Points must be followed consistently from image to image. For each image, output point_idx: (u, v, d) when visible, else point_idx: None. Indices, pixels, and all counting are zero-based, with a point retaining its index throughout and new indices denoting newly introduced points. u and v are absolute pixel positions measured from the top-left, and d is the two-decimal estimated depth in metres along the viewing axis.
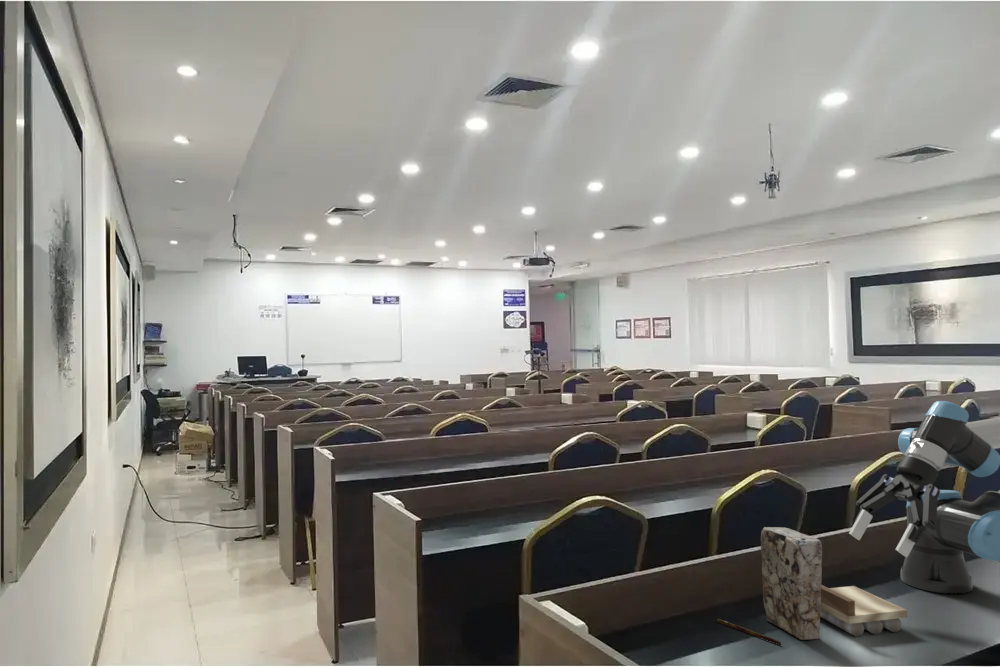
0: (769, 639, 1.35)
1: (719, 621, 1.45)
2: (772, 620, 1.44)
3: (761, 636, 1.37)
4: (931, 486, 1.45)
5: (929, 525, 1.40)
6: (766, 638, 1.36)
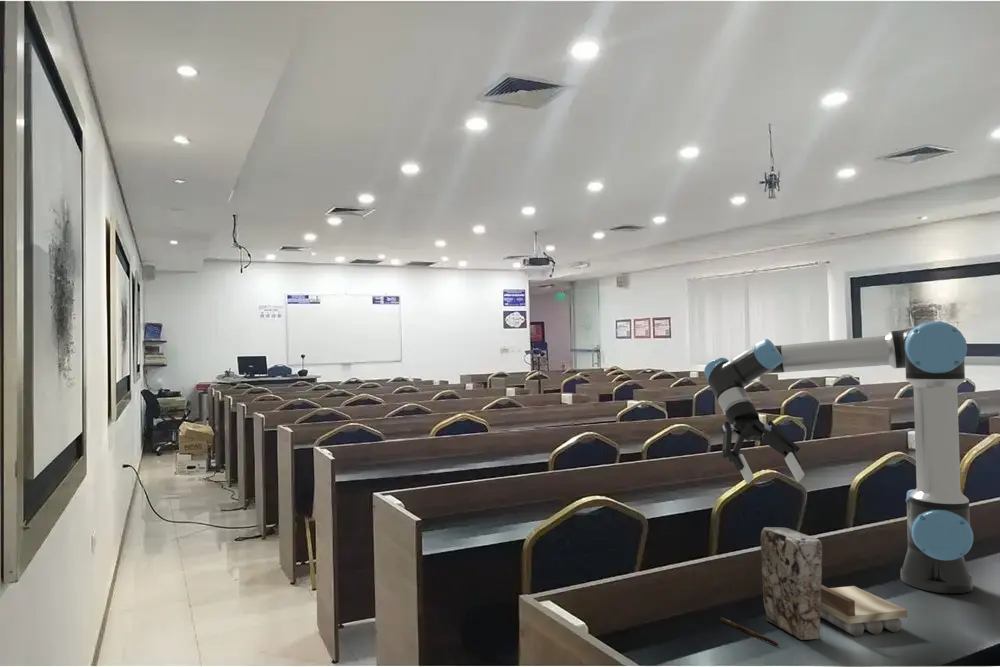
0: (767, 639, 1.35)
1: (722, 620, 1.46)
2: (772, 620, 1.44)
3: (760, 636, 1.37)
4: None
5: (724, 455, 1.62)
6: (764, 638, 1.36)
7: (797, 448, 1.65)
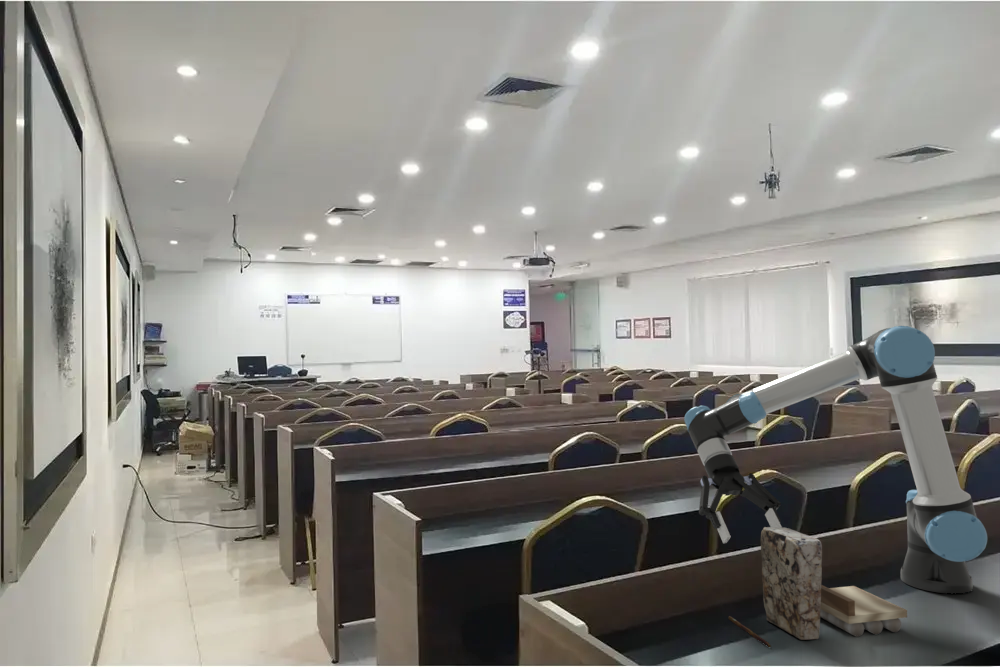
0: (762, 640, 1.35)
1: (729, 618, 1.47)
2: (772, 620, 1.44)
3: (756, 637, 1.37)
4: None
5: (701, 512, 1.56)
6: (760, 639, 1.35)
7: (778, 503, 1.60)
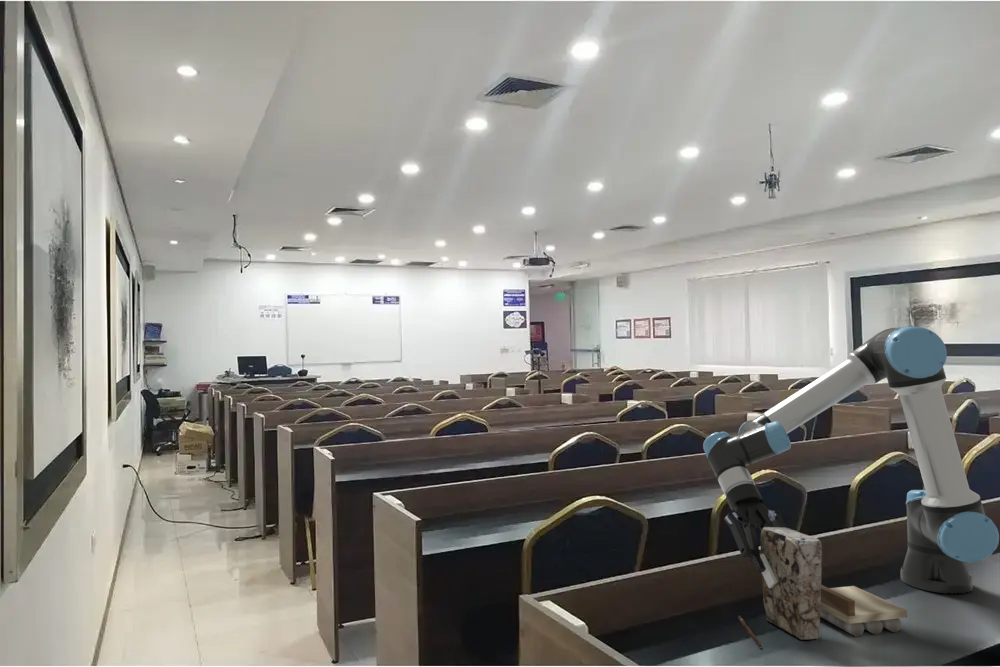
0: (755, 640, 1.35)
1: (738, 618, 1.47)
2: (772, 620, 1.44)
3: (753, 637, 1.37)
4: None
5: (745, 555, 1.48)
6: (754, 639, 1.35)
7: None
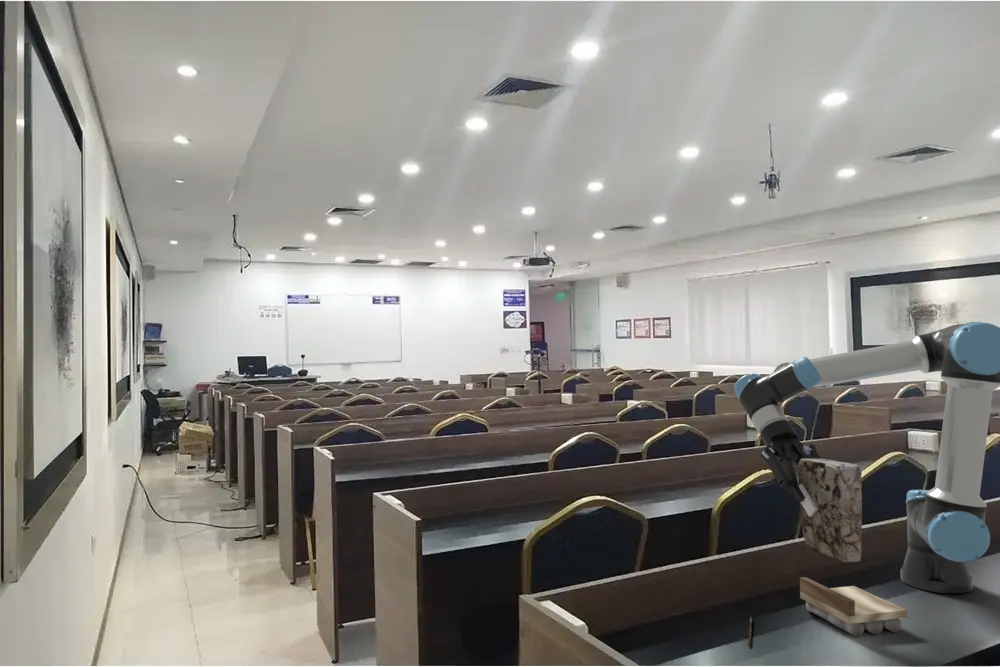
0: None
1: (750, 619, 1.46)
2: (812, 548, 1.47)
3: None
4: None
5: (783, 486, 1.51)
6: None
7: None
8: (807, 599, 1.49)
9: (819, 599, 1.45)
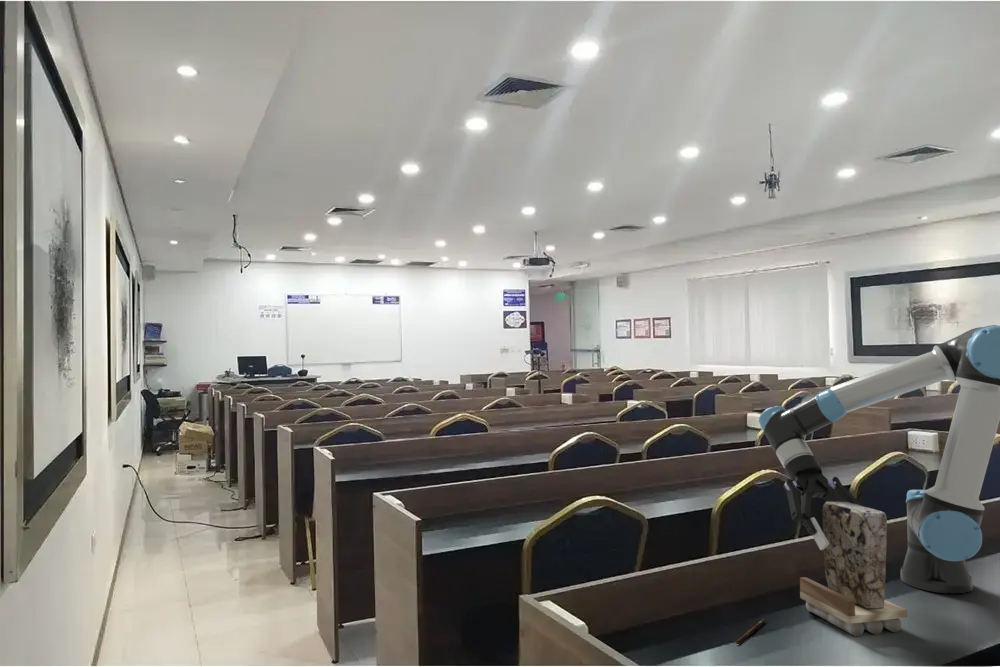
0: None
1: None
2: (835, 591, 1.49)
3: None
4: None
5: (795, 518, 1.52)
6: None
7: None
8: (807, 599, 1.49)
9: (819, 599, 1.45)
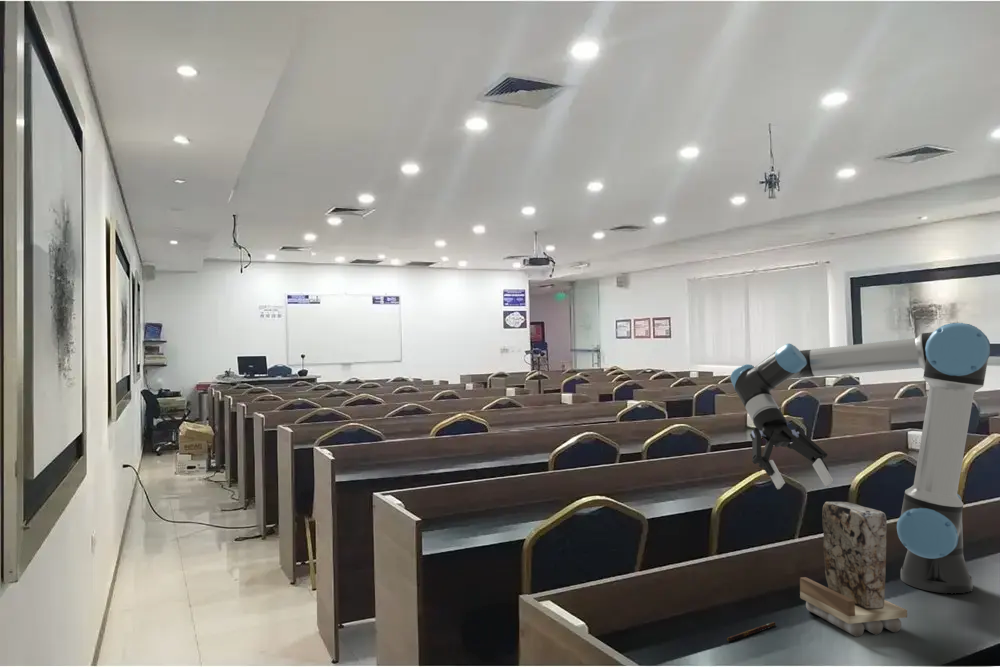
0: None
1: None
2: (835, 591, 1.49)
3: None
4: None
5: (754, 460, 1.65)
6: None
7: (825, 454, 1.69)
8: (807, 599, 1.49)
9: (819, 599, 1.45)
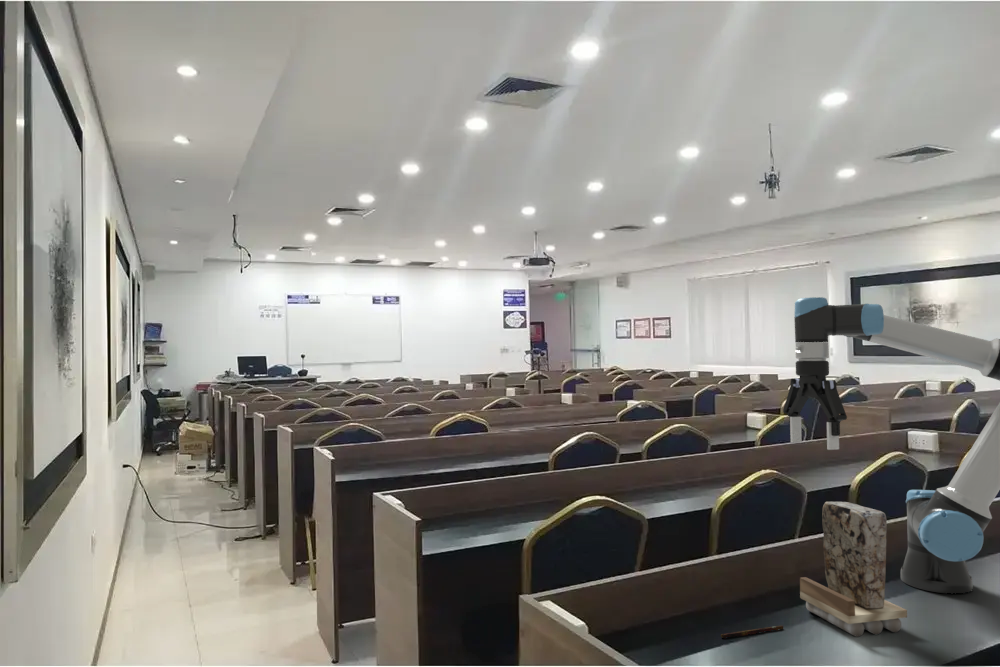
0: None
1: None
2: (835, 591, 1.49)
3: None
4: (827, 382, 1.61)
5: (840, 418, 1.58)
6: None
7: None
8: (807, 599, 1.49)
9: (819, 599, 1.45)
